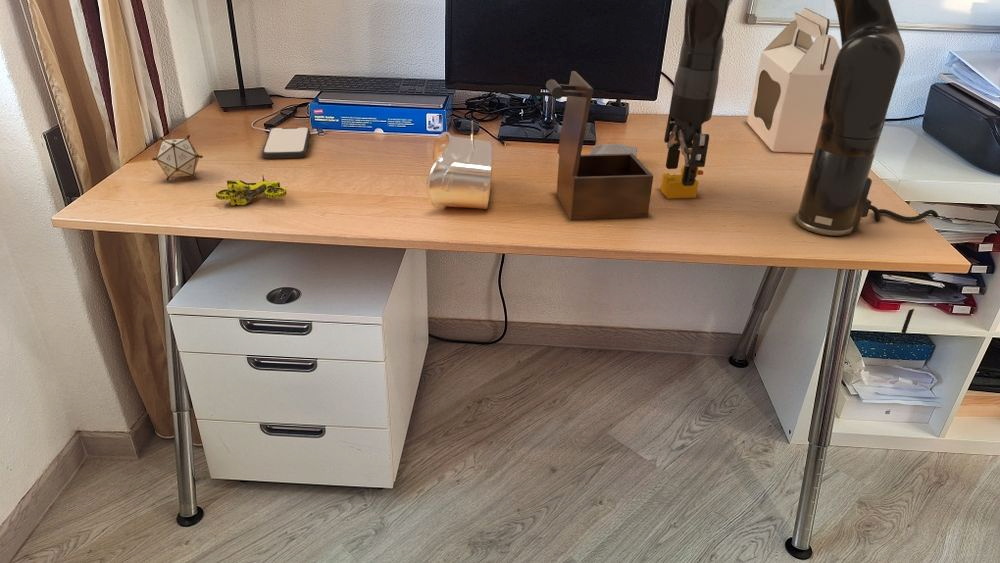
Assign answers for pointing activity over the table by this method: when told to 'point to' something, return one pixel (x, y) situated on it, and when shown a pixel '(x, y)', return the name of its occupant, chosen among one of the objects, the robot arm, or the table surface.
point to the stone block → (613, 149)
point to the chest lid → (572, 118)
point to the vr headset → (460, 172)
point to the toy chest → (605, 187)
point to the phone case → (286, 143)
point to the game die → (177, 157)
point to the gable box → (794, 85)
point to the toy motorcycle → (250, 191)
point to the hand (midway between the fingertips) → (679, 176)
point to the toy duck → (678, 186)
